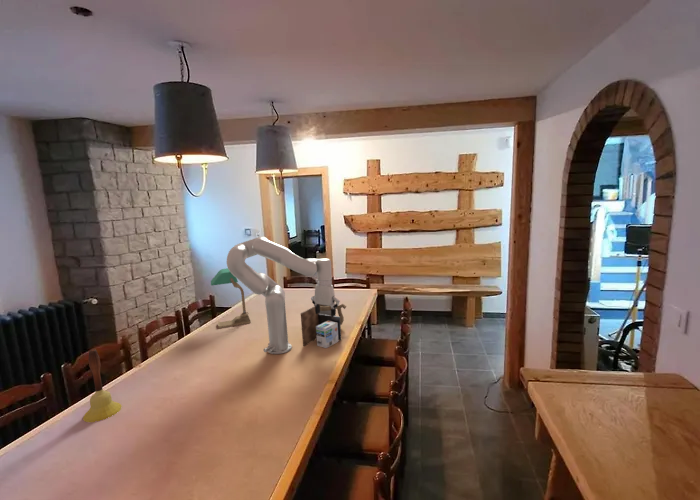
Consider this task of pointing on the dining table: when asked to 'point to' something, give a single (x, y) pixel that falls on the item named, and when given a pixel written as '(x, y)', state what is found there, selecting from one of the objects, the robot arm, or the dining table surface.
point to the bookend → (324, 318)
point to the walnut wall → (309, 325)
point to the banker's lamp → (227, 277)
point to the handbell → (99, 394)
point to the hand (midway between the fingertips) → (325, 314)
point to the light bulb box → (327, 334)
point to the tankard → (327, 311)
